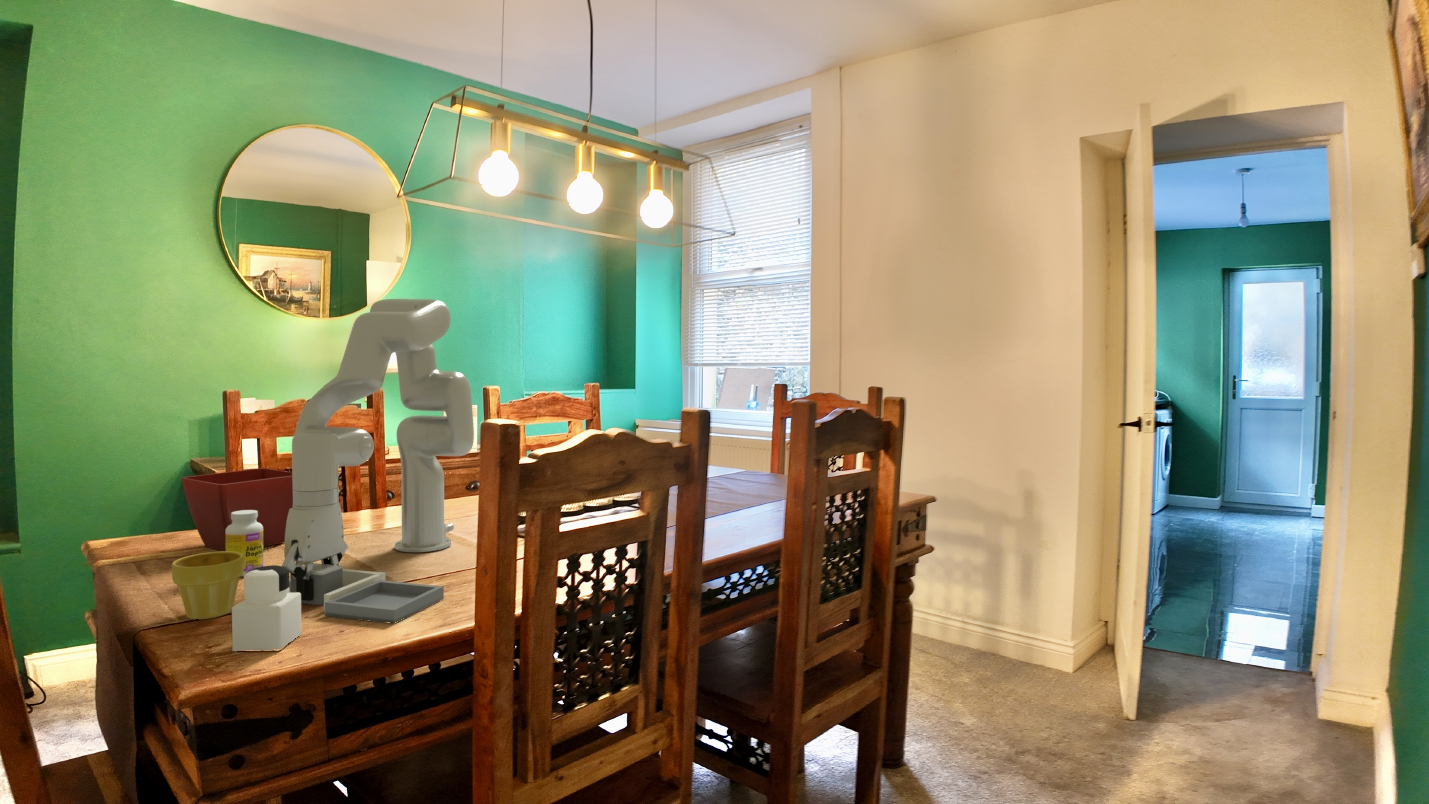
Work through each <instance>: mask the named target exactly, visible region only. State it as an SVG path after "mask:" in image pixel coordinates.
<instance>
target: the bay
mask: <svg viewBox="0 0 1429 804" xmlns="http://www.w3.org/2000/svg"><path fill="white" fill-rule="evenodd" d="M386 574H387V573H386V572H379V571H371V570H370V571H369V570H360V569H359V570H357V569H350V568H343V587H342V588H339V589H337V590H334V591H332V592H329V593H327V594H324V605H323V611H324V612H325V602H327V601H330V600H332V599H335V598H337V597H339V596H342V595H344V594H347V593H349V592H352V591H354V590H357V589H359V588H362V587H364V586H366V585H369V584H371V583H374V582H376V581H379V580H384V581H387V579H386V577H387V576H386ZM288 593H291V581H290V578H289V592H288Z"/></svg>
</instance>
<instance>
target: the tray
mask: <svg viewBox="0 0 1429 804" xmlns="http://www.w3.org/2000/svg"><path fill="white" fill-rule="evenodd" d="M444 587H445V586H441V585H432V584H424V583H423V584H422V583H414V582H413V583H412V582H403V581H402V582H401V581H394V580H393V581H392V580H386V581H384V580H379V581H376V582H374V583H371V584H369V585H366V586H364V587H362V588H359V589H357V590H354V591H352V592H349V593H347V594H344V595H342V596H339V597H337V598H335V599H332V600H330V601H327V602H325V611H324V616H325V617H329V616H331V617H332V618H340V619H347V618H349V620H355V619H360V620H359V621H364V620H370V621H369V622H372V621H375V622H374V623H381V622H390V623H395V622H397V621H399V620H401V619H403V618H405V619H407V618H408V617H407V616H409V617H411V616H413V615H415V614H417V613H420V612H421V611H423V610H425V609H427V608H429V607H431V606H432V604H433V605H434V603H435V604H436V603H439V602H441V601H443V600H444V599H445V596H444V595H445V593H444V591H445V589H444ZM442 599H443V600H442ZM440 600H441V601H440ZM438 601H439V602H438ZM428 606H429V607H428ZM426 607H427V608H426ZM422 609H423V610H422ZM420 610H421V611H420ZM414 613H415V614H414ZM412 614H413V615H412ZM410 615H411V616H410ZM331 617H330V618H331ZM406 617H407V618H406ZM361 619H362V620H361ZM403 620H404V619H403ZM401 621H402V620H401ZM399 622H400V621H399ZM390 623H389V624H390ZM397 623H398V622H397ZM395 624H396V623H395Z"/></svg>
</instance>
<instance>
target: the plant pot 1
mask: <svg viewBox="0 0 1429 804" xmlns="http://www.w3.org/2000/svg"><path fill="white" fill-rule="evenodd" d="M181 483H182V487H183V491H184V495H185V499H186V503H187V506H188V509H189V512H190V516H191V518H192V520H193V523H194V525H195V527H196V530H197V532H198V535H199V536H200V538H201V541H202V543H203V546H204V547H206V548H209V549H210V548H211V549H214V550H218V551H226V536H225V531H226V528H227V527H228V526H229V525H231V524H232V519H231V513H232V512H235V511H241V510H256V511H258V517H257V519H256V521H257V522H258V523H260V524H262V526H263V548H264V547H269V546H274V545H280V544H283V543H284V544H285V531H286V523H287V517H288V513H289V509H291V508H293V495H292V490H293V489H292V471H286V470H281V469H279V470H278V469H274V468H267V467H266V468H263V467H261V468H254V469H243V470H241V469H240V470H234V471H233V470H232V471H225V472H218V473H217V472H214V473H207V474H206V473H205V474H200V475H199V474H198V475H190V476H183V477H181Z"/></svg>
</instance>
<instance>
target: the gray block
mask: <svg viewBox="0 0 1429 804" xmlns="http://www.w3.org/2000/svg"><path fill="white" fill-rule="evenodd" d="M302 569H303V570H305V565H302ZM343 569H344V567H343V565H339V566H338V565H328V564H322V563H316V562H313V567H312V572H311V577H310V578H311V579H313V600H311V601H305V600H301V604H305V605H315V606H323V607H324V594H327V593H329V592H332V591H334V590H337V589H339V588H342V587H344V586H343ZM289 579H290V581H291V593H295V592H296V579H294V578H293V575H292V574H290V573H289Z"/></svg>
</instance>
